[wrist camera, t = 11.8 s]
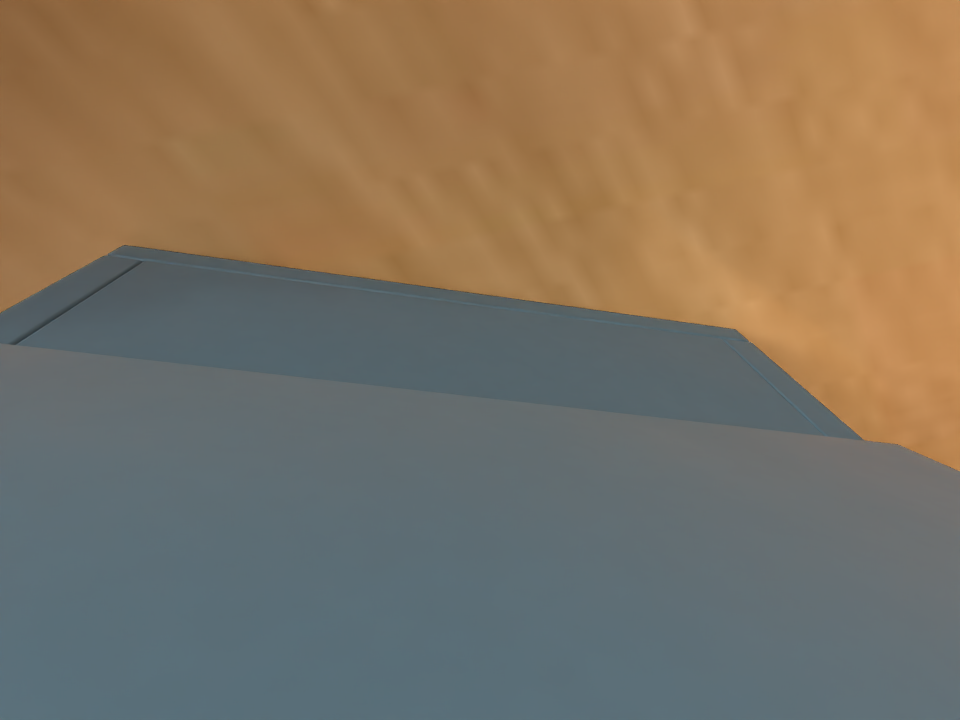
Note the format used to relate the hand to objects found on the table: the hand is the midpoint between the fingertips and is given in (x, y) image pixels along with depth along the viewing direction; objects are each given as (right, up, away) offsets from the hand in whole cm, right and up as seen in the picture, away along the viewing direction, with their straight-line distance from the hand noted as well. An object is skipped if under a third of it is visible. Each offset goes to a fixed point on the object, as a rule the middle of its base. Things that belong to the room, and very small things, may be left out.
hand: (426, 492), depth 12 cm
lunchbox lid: (+2, 0, -12) cm, 12 cm away
